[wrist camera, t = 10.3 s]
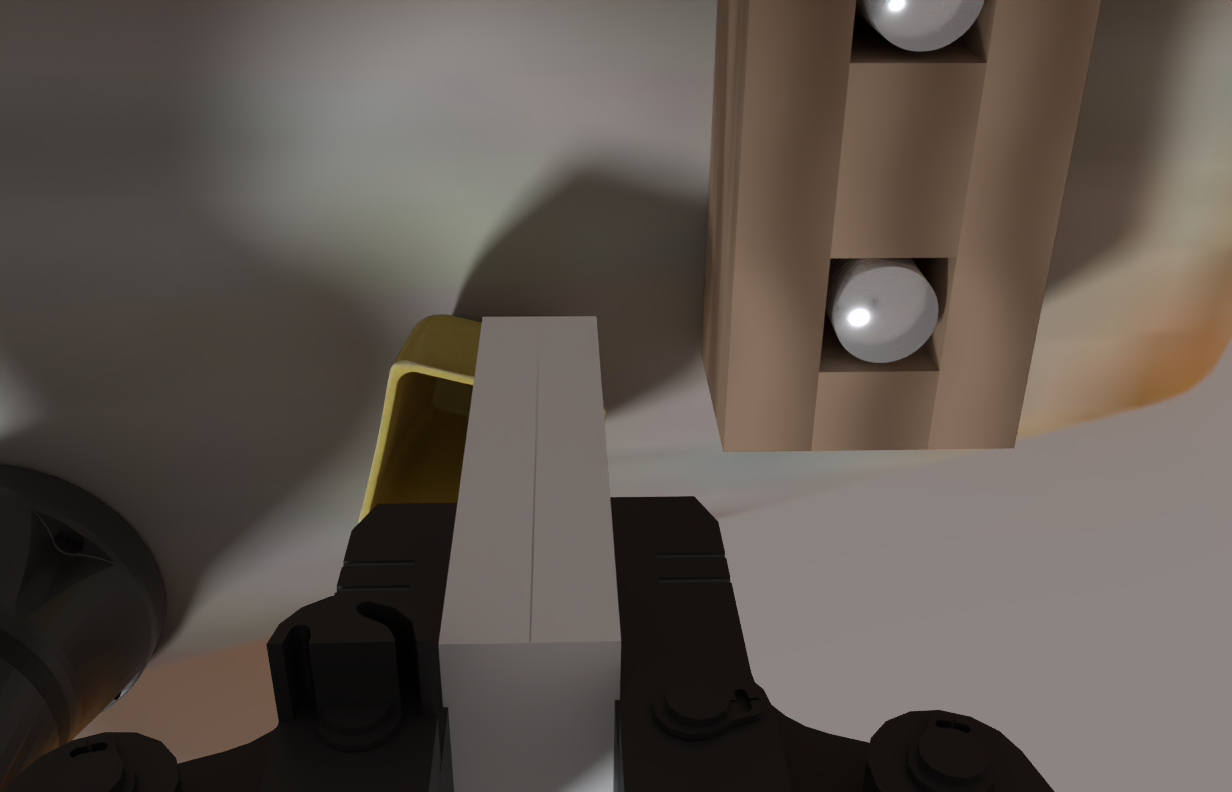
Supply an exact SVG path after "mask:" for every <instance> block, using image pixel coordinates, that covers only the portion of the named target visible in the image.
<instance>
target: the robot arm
mask: <svg viewBox="0 0 1232 792" xmlns="http://www.w3.org/2000/svg"><path fill="white" fill-rule="evenodd" d="M165 614H166V599H165V591H164V586H163V582H162V578H161V575H160V572H159V570H158V567H157V565H156V563H155V561H154V559H153V557H152V555H151V554H150V552H149V550H148V549H147V547H146V546H145V544H144V543H143V541H142V540H141V539H140V537H139V536H138V535H137V534H136V533H135V531H134V530H133V529H132V528H131V527H130V526H129V525H128V524H127V523H126V522H125V521H124V520H123V519H122V518H121V517H120V516H119V515H117V514H116V513H115V512H114V511H113V510H111V509H110V508H109V507H108V506H106V505H105V504H104V503H102V502H101V501H99V500H98V499H96V498H95V497H93V496H91V495H90V494H88V493H86V492H85V491H83V490H81V489H79V488H77V487H75V486H73V485H71V484H69V483H66V482H64V481H62V480H59V479H57V478H54V477H51V476H48V475H45V474H42V473H39V472H35V471H31V470H28V469H23V468H18V467H12V466H4V465H0V792H1054V791H1053V789H1052V788H1051V787H1050V786H1049V784H1048V783H1047V782H1046V781H1045V779H1044V778H1043V777H1042V776H1041V775H1040V773H1039V772H1038V771H1037V770H1036V768H1035V767H1034V766H1033V765H1032V763H1031V762H1030V761H1029V760H1028V758H1027V757H1026V756H1025V755H1024V753H1023V752H1022V751H1021V750H1020V749H1019V748H1018V747H1016V746H1015V745H1014V744H1013V743H1012V742H1011V741H1010V740H1009V739H1007V738H1006V737H1005V736H1004V735H1003V734H1002V733H1001V732H1000V731H998V730H996V729H994V728H992V727H990V726H988V725H986V724H984V723H982V722H980V721H978V720H976V719H974V718H972V717H969V716H964V715H960V714H955V713H950V712H946V711H941V710H932V711H911V712H908V713H906V714H903V715H900V716H898V717H895V718H893V719H890V720H888V721H886V722H885V723H884V724H883V725H882V726H881V727H880V728H879V730H878V731H877V732H876V733H875V734H874V735H873V737H871V741H870V743H868V742H864V741H859V740H855V739H850V738H846V737H841V736H837V735H832V734H828V733H825V732H822V731H819V730H816V729H812V728H809V727H806V726H804V725H802V724H800V723H798V722H796V721H794V720H793V719H791V718H788V717H787V716H785V715H784V714H782V713H781V712H780V711H778V710H777V709H776V708H775V707H774V706H772V705H771V703H770V701H769V699H768V697H767V695H766V693H765V691H764V690H763V689H762V688H761V687H760V686H759V685H757V684H756V683H755V682H754V679H753V676H752V674H751V670H750V666H749V661H748V656H747V652H746V648H745V643H744V638H743V633H742V629H741V624H740V620H739V615H738V610H737V606H736V601H735V597H734V592H733V587H732V583H730V574H729V569H728V565H727V560H726V558H725V551H724V546H723V542H722V537H721V533H720V528H719V523H718V521H717V520H716V519H715V518H714V517H713V516H712V515H711V514H710V513H709V512H708V511H707V510H706V508H705V507H704V506H703V505H702V504H701V503H700V502H699V501H698V500H697V499H696V498H695V497H694V496H683V497H610V488H609V475H608V462H607V448H606V435H605V422H604V409H603V396H602V382H601V369H600V356H599V343H598V330H597V316H546V317H482V325H481V332H480V340H479V347H478V355H477V362H476V369H475V377H474V384H473V392H472V399H471V407H470V414H469V421H468V429H467V436H466V444H465V451H464V459H463V466H462V473H461V481H460V488H459V496H458V503H389V504H377V505H376V506H375V507H374V508H373V509H372V510H371V511H370V512H369V513H368V514H367V515H366V516H365V517H364V518H363V519H362V521H361V522H360V523H359V524H358V525H357V526H356V527H355V528H354V529H353V530H352V532H351V535H350V539H349V543H348V546H347V550H346V554H345V558H344V566H343V567H342V569H341V572H340V576H339V580H338V583H337V593H335V595H334V596H330V597H328V598H325V599H323V600H320V601H317V602H315V603H312V604H310V605H307V606H304V607H302V608H300V609H299V610H298V611H296V612H295V613H294V614H292V615H291V616H290V617H288V618H287V619H286V620H284V621H283V622H282V623H280V624H279V625H278V627H277V629H276V630H275V632H274V633H273V635H272V636H271V638H270V640H269V641H268V643H267V651H268V657H269V663H270V669H271V676H272V681H273V688H274V694H275V701H276V706H277V713H278V719H279V723H278V726H277V727H276V728H275V729H274V730H273V731H271V732H269V733H267V734H265V735H263V736H262V737H260V738H258V739H256V740H254V741H252V742H251V743H248V744H245V745H242V746H239V747H237V748H233V749H231V750H228V751H224V752H221V753H217V754H213V755H210V756H206V757H202V758H198V759H194V760H190V761H186V762H183V763H179V764H177V760H176V758H175V756H174V755H173V754H172V753H171V752H170V751H169V750H168V749H167V748H166V746H165V745H164V744H163V743H162V742H161V741H158V740H156V739H153V738H150V737H147V736H144V735H141V734H139V733H131V732H128V733H127V732H122V733H121V732H120V733H119V732H114V733H113V732H105V733H100V734H96V735H92V736H88V737H85V738H80V739H77V740H73V739H74V738H75V737H76V736H77V735H78V734H79V733H80V732H81V731H82V730H83V729H84V728H85V727H86V726H87V725H88V724H90V723H91V722H92V720H94V719H95V718H96V717H97V716H98V715H99V714H100V713H101V712H103V711H104V710H106V709H107V708H109V707H110V706H112V705H113V704H114V703H115V702H117V701H118V700H119V699H120V698H121V697H122V696H124V695H125V694H126V693H127V692H128V691H129V690H130V689H131V687H132V686H133V685H134V684H135V682H136V681H137V680H138V679H139V677H140V676H141V674H142V673H143V671H144V669H145V668H146V666H147V664H148V662H149V660H150V657H151V655H152V653H153V651H154V649H155V647H156V645H157V643H158V640H159V638H160V636H161V633H162V630H163V626H164V622H165Z"/></svg>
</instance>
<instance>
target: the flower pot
mask: <svg viewBox="0 0 1232 792" xmlns="http://www.w3.org/2000/svg"><path fill="white" fill-rule="evenodd" d="M481 325H482V322H478V321H473V320H469V319H466V318H461V317H456V316H451V315H432V316H428V317H426V318H424V319H423V320H421V321H420V322H419V323H418V324H417V325H416V326H415V327H414V328H413V330H412V332H411V333H410V335H409V337H408V338H407V340H406V342H405V344H404V345H403V347H402V349H401V351H400V353H399V354H398V356H397V358H396V360H395V362H394V364H393V365H392V367H391V369H390V373H389V379H388V384H387V389H386V395H385V401H384V407H383V413H382V418H381V423H380V429H379V434H378V439H377V445H376V449H375V453H374V458H373V462H372V467H371V471H370V475H369V479H368V483H367V488H366V493H365V497H364V501H363V505H362V509H361V513H360V517H359V521H358V524H359V523H360V522H361V521H362V519H363V518H364V517H365V516H366V515H367V514H368V513H369V512H370V511H371V510H372V509H373V508H374V507H375V506H376V505H377V504H389V503H458V496H459V488H460V481H461V473H462V466H463V459H464V451H465V444H466V436H467V429H468V421H469V414H470V407H471V399H472V392H473V384H474V377H475V369H476V362H477V355H478V347H479V340H480V332H481ZM603 409H604V422H605V418H606V409H605V406H604V402H603Z"/></svg>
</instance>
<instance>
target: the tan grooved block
mask: <svg viewBox="0 0 1232 792" xmlns="http://www.w3.org/2000/svg"><path fill="white" fill-rule="evenodd" d="M1100 5H1101V0H984V3H983V6H982V9H981V11H980V13H979V15H978V17H977V18H976V20H975V21H974V23H973V24H972V25H971V27H970V28H969V29H968V30H967V31H966V32H965V33H964V34H963V35H962V36H960V37H959V38H958V39H957V40H955V41H953V42H952V43H950V44H948V45H946V46H944V47H942V48H939V49H936V50H931V51H922V52H918V51H910V50H905V49H903V48H900V47H898V46H896V45H894V44H892V43H891V42H889V41H888V40H887V39H886V38H884V37H883V36H882V35H881V34H880V33H879V32H877V31H876V30H875V29H874V28H873V27H872V26H870V25H869V24H868V23H867V22H866V21H865V20H863V19H862V18H861V17H860V16H859V15H855V7H856V0H718V4H717V26H716V47H715V69H714V91H713V113H712V135H711V156H710V178H709V200H708V222H707V243H706V265H705V287H704V309H703V331H702V352H701V355H702V359H703V364H704V368H705V373H706V377H707V381H708V386H709V390H710V395H711V399H712V403H713V408H714V412H715V417H716V421H717V426H718V430H719V434H720V439H721V443H722V448H723V452H760V451H839V450H917V449H995V448H1014V446H1015V441H1016V436H1017V431H1018V426H1019V420H1020V415H1021V410H1022V405H1023V400H1024V395H1025V390H1026V385H1027V379H1028V374H1029V369H1030V364H1031V359H1032V354H1033V349H1034V344H1035V338H1036V333H1037V328H1038V323H1039V318H1040V313H1041V308H1042V303H1043V297H1044V292H1045V287H1046V282H1047V277H1048V272H1049V267H1050V262H1051V256H1052V251H1053V246H1054V241H1055V236H1056V231H1057V226H1058V221H1059V215H1060V210H1061V205H1062V200H1063V195H1064V190H1065V185H1066V180H1067V174H1068V169H1069V164H1070V159H1071V154H1072V149H1073V144H1074V139H1075V133H1076V128H1077V123H1078V118H1079V113H1080V108H1081V103H1082V97H1083V92H1084V87H1085V82H1086V77H1087V72H1088V67H1089V62H1090V56H1091V51H1092V46H1093V41H1094V36H1095V31H1096V26H1097V21H1098V15H1099V10H1100ZM830 258H912V260H913V261H914V263H915V264H916V265H917V267H918V268H919V270H920V271H921V273H922V274H923V275H924V277H925V278H926V280H927V281H928V283H929V284H930V285H931V287H932V289H933V290H934V292H935V295H936V297H937V301H938V318H937V322H936V325H935V328H934V330H933V332H932V334H931V335H930V337H929V338H928V340H927V341H926V342H925V343H924V344H923V345H922V346H921V347H920V348H919V349H918V350H916V351H915V352H914V353H912V354H910V355H909V356H907V357H904V358H902V359H900V360H896V361H892V362H887V363H873V362H868V361H864V360H861V359H859V358H857V357H855V356H854V355H852V354H851V353H849V352H848V351H847V350H846V349H845V348H844V347H843V345H842V344H841V342H840V341H839V339H838V336H837V334H836V332H835V330H834V328H833V326H832V324H831V322H830V320H829V317H828V315H827V313H826V311H825V307H826V297H827V287H828V277H829V267H830Z"/></svg>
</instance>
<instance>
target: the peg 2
mask: <svg viewBox="0 0 1232 792" xmlns="http://www.w3.org/2000/svg"><path fill="white" fill-rule="evenodd" d="M825 311H826V313H827V315H828V317H829V320H830V322H831V324H832V326H833V328H834V330H835V332H836V334H837V336H838V339H839V341H840V342H841V344H842V345H843V347H844V348H845V349H846V350H847V351H848V352H849V353H851V354H852V355H854V356H855V357H857V358H859V359H861V360H864V361H868V362H873V363H887V362H892V361H896V360H900V359H902V358H904V357H907V356H909V355H910V354H912V353H914V352H915V351H916V350H918V349H919V348H920V347H921V346H922V345H923V344H924V343H925V342H926V341H927V340H928V338H929V337H930V335H931V334H932V332H933V330H934V328H935V325H936V322H937V318H938V301H937V297H936V295H935V292H934V290H933V289H932V287H931V285H930V284H929V283H928V281H927V280H926V278H925V277H924V275H923V274H922V273H921V271H920V270H919V268H918V267H917V265H916V264H915V263H914V261H913V260H912V258H830V267H829V277H828V287H827V297H826V307H825Z"/></svg>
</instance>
